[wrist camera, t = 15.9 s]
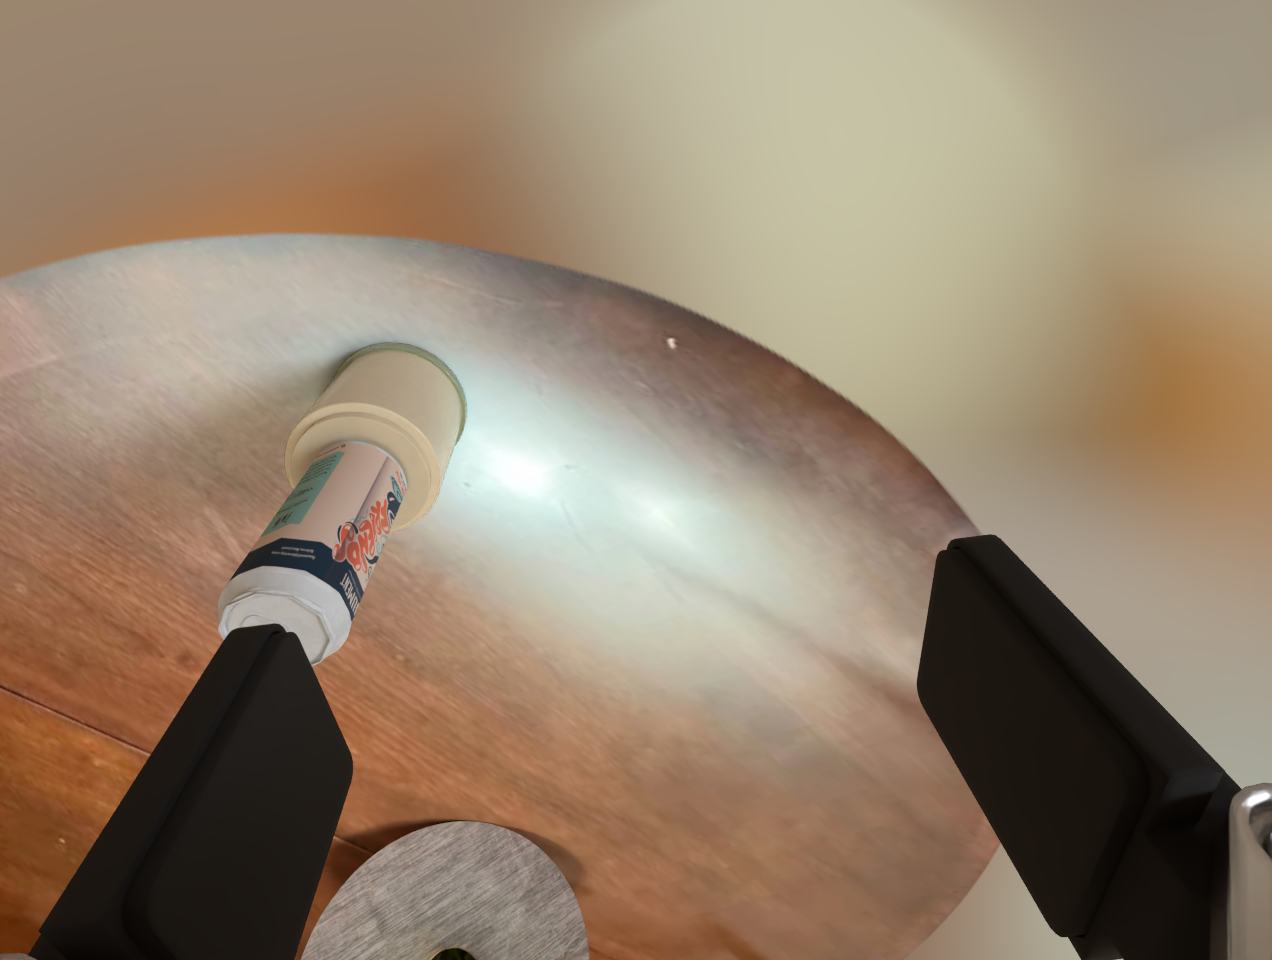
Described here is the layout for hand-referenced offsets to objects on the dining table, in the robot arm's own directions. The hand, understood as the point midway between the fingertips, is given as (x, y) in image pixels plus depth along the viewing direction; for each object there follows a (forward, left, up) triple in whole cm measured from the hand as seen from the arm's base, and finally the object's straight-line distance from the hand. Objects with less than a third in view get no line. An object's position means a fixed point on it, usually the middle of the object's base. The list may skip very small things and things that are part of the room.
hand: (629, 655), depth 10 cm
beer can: (+16, -1, -25) cm, 30 cm away
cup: (+16, -1, -34) cm, 38 cm away
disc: (+54, +35, -34) cm, 73 cm away
